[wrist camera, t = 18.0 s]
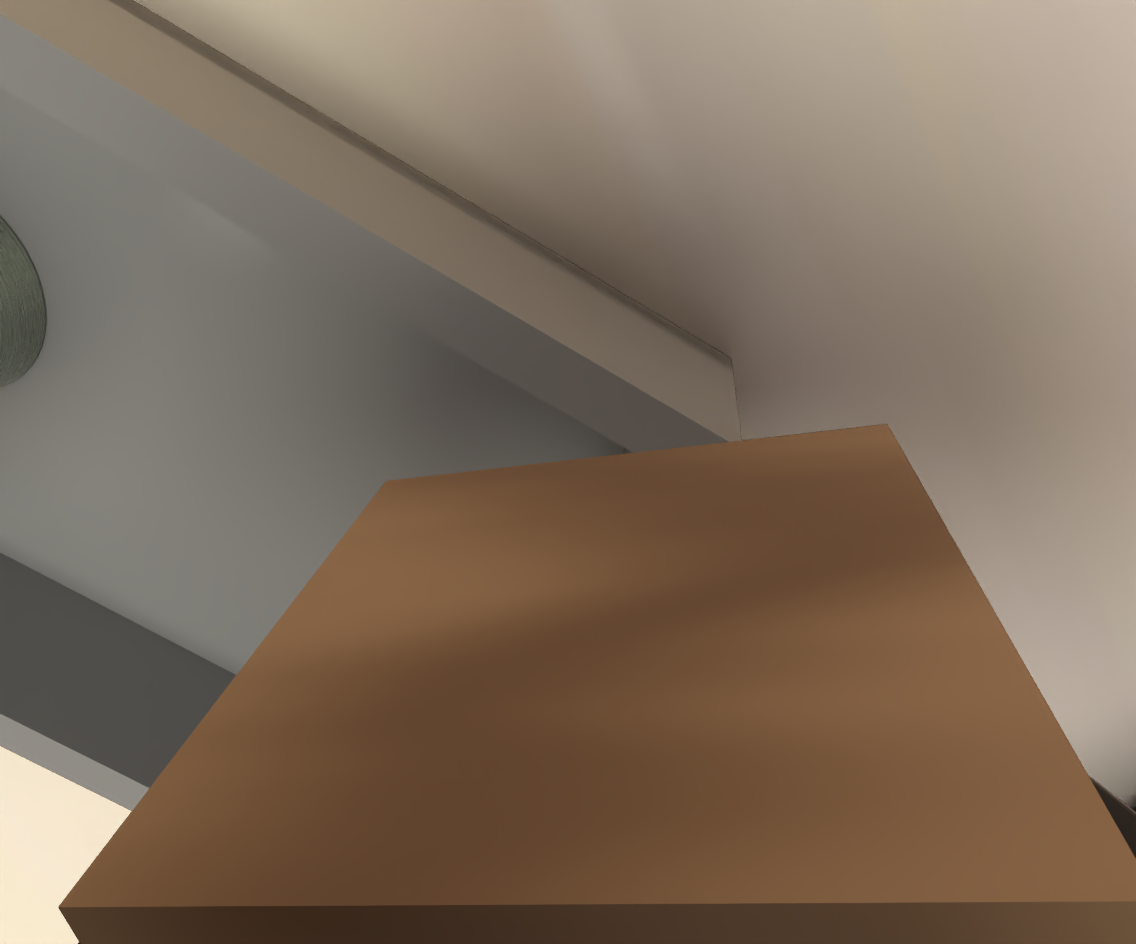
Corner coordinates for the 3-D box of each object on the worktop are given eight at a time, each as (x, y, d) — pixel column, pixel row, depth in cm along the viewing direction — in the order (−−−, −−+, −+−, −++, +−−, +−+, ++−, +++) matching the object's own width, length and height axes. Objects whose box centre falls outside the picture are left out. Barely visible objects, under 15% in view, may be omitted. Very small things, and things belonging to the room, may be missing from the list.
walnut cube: (886, 424, 8) (1162, 903, 3) (898, 819, 10) (1077, 1456, 5) (385, 480, 9) (60, 908, 4) (489, 828, 11) (342, 1370, 6)
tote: (731, 358, 18) (743, 449, 13) (440, 778, 24) (383, 935, 20) (-249, -229, 16) (-626, -354, 11) (-283, 402, 22) (-531, 483, 18)
